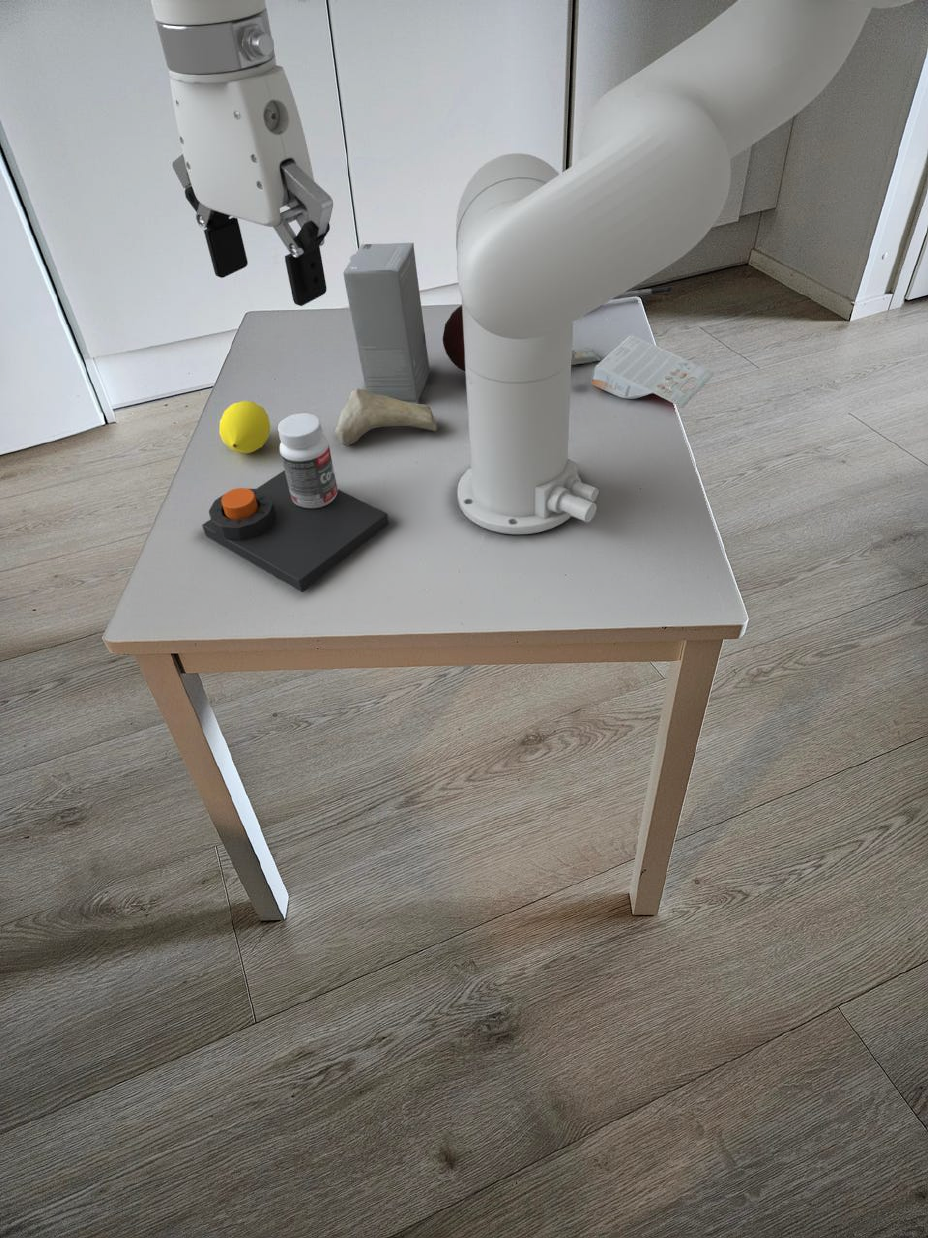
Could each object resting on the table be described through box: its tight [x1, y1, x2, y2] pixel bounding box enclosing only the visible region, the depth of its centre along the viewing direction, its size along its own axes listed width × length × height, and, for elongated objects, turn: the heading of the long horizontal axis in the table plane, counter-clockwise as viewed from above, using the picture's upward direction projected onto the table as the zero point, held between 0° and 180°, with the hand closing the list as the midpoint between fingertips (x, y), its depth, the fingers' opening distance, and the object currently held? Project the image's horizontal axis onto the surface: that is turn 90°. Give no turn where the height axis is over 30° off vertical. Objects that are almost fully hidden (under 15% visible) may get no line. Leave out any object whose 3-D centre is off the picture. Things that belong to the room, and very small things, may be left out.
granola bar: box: [571, 348, 602, 366], centre depth 106 cm, size 7×1×3 cm
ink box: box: [590, 334, 715, 409], centre depth 102 cm, size 3×9×12 cm
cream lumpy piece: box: [334, 388, 438, 446], centre depth 97 cm, size 11×6×5 cm, turn 101°
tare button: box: [221, 487, 258, 520], centre depth 85 cm, size 3×3×2 cm
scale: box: [201, 470, 390, 592], centre depth 86 cm, size 14×12×3 cm
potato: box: [442, 304, 466, 373], centre depth 102 cm, size 9×12×9 cm
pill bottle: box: [277, 412, 339, 508], centre depth 85 cm, size 5×5×8 cm
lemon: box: [218, 400, 271, 454], centre depth 95 cm, size 7×5×5 cm
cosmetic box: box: [342, 242, 430, 404], centre depth 100 cm, size 8×7×16 cm
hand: (270, 284), depth 73 cm, fingers open, 9 cm apart
